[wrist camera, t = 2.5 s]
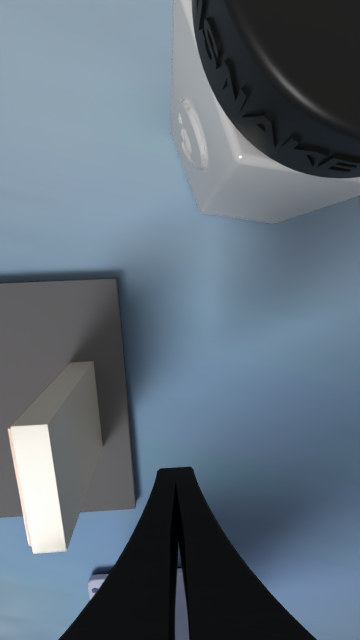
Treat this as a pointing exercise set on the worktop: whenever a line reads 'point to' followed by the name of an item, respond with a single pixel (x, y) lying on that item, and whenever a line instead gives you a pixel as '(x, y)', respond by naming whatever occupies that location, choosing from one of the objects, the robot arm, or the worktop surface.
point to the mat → (47, 363)
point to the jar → (267, 104)
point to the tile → (57, 456)
